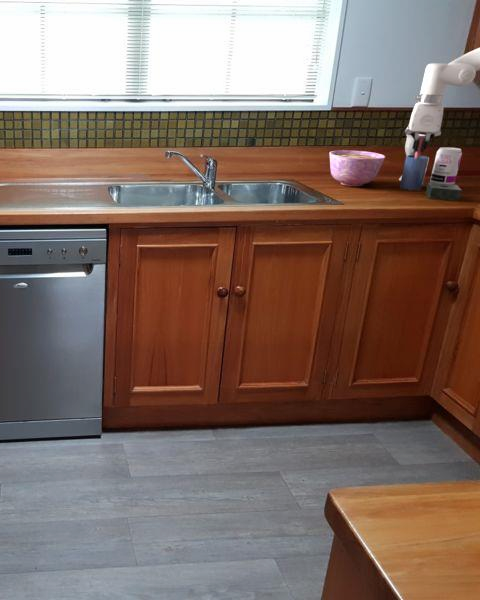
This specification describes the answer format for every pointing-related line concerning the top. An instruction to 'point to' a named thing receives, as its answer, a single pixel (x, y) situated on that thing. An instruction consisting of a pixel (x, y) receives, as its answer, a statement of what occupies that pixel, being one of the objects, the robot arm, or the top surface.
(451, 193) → the straw stand
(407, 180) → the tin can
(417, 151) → the straw
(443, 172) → the supplement can
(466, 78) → the robot arm
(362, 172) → the bowl of food
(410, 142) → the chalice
